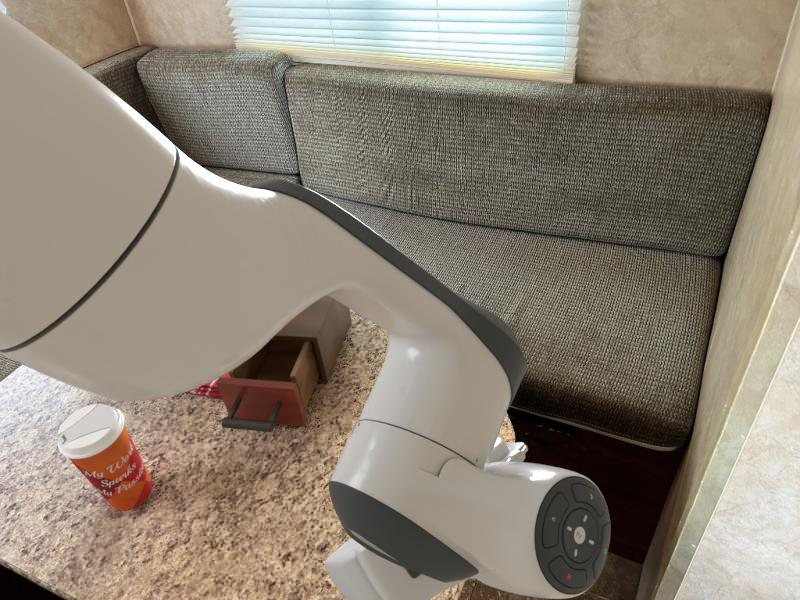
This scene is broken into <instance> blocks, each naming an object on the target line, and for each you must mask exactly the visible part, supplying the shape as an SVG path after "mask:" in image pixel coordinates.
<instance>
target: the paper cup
mask: <svg viewBox="0 0 800 600" xmlns="http://www.w3.org/2000/svg"><path fill="white" fill-rule="evenodd" d="M125 419H126V417H125V414H124V412H122V410H120V409H119V408H116V407H114V406H110V405H107V404H103V403H93V404H89V405H86V406H84V407H81V408H79V409H77V410H75V411H74V412H73V413H71V414H70V415H69V416H67V417H66V419H64V421H63V422H62V423H61V424H60V427H59V429H58V431H57V439H58V440H57V448H58V451H59V453H60V455H62V456H63V457H65V458H68V459H69V461H70V462H71V463H72V464H73V465H74V466H75V467H76V469H77V470H78V471H79V472H80V473H81V474H82V475H83V476H84V478H86V480H87V481H89V482H90V484H91V485H92V487H94V489H96V491H97V492H98V493H99V494H100V495H101V496H102V498H103V499H105V501H106V502H107V503H108V504H109V505H110V506H111V508H113V509H115V510H118V511H129V510H132V509H135V508H137V507H138V506H140V505H141V504H143V502H145V501H146V500H147V499H148V497H150V495H151V492H152V488H153V483H152V479H151V477H150V474H149V472H148V470H147V467H146V466H145V463H144V461H143V459H142V457H141V455H140V453H139V451H138V450H137V447H136V445H135V443H134V442H133V438H132V437H131V435H130V434H129V430H128V429H127V427H126V425H125Z"/></svg>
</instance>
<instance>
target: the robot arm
mask: <svg viewBox="0 0 800 600" xmlns="http://www.w3.org/2000/svg"><path fill="white" fill-rule="evenodd" d="M325 295H328V296H330V297H331V298H333V299H335V300H336V301H338V302H340V303H341V304H343V305H345V306H346V307H348V308H349V310H352V312H355V313H356V314H358V315H360V316H361V317H363V318H365V319H366V320H368V321H369V322H371V323H373V324H375V325H377V326H378V327H380V328H382V329H383V330H385V332H386V336H387V345H386V353H385V357H384V360H383V364H382V366H381V369H380V371H379V373H378V375H377V376H376V377H377V378H376V379H375V381H374V384H373V387H372V388H371V391H370V393H369V395H368V397H367V400H366V402H365V404H364V405H363V409H362V410H361V413H360V414H359V418H358V420H357V421H355V423H354V425H353V428H352V430H351V432H350V434H349V436H348V439H347V441H346V442H345V444H344V446H343V450H342V451H341V454H340V456H339V459H338V461H337V462H336V465H335V467H334V470H333V473H332V475H331V477H330V480H329V482H328V492H329V497H330V500H331V503H332V506H333V509H334V511H335V513H336V516H337V518H338V520H339V522H340V524H341V526H342V528H343V530H344V532H345V533H346V534H347V535H348V537H350V538H349V539H348V540H347V541H345V542H344V543H343V544H342V545H341V546H340V547H338V548H337V549H336V550H334V551H333V552H332V553H331V554H329V556H328V557H327V558H326V560H325V562H324V565H323V567H324V569H325V572H326V573H327V575H328V576H329V578H330V580H331V581H332V583H333V584H334V586H335V588H336V589H337V591H338V592H339V593H340V594H341V596H342V597H344V598H345V599H346V600H431V599H433V598H434V597H436V596H438V595H440V594H441V593H443V592H445V591H447V590H449V589H450V588H453V587H456V586H457V585H459V584H462V583H464V582H466V581H468V580H477V581H478V582H480V583H482V584H483V585H486V586H487V587H491V588H494V589H497V590H500V591H503V592H506V593H511V594H516V595H520V596H524V597H532V598H537V599H538V598H539V599H549V600H550V599H551V600H553V599H554V600H564V599H571V598H575V597H579V596H580V595H582V594H584V593H585V592H587V591H588V590H590V588H592V587H593V586H594V584H596V582H597V581H598V580H599V578H600V576H601V574H602V571H603V568H604V566H605V563H606V560H607V556H608V552H609V547H610V542H611V532H612V531H611V530H612V529H611V528H612V526H611V524H612V523H611V517H610V512H609V508H608V504H607V502H606V500H605V497H604V495H603V494H602V492H601V490H600V489H599V487H598V486H597V484H595V482H593V481H592V480H591V479H590V478H589V477H587V476H585V475H583V474H581V473H579V472H576V471H573V470H570V469H566V468H564V467H563V468H562V467H557V466H553V465H547V464H542V463H534V462H525V459H526V453H527V452H528V451H529V448H528V445H527V444H526V443H524V442H523V441H516V442H510V443H508V444H507V443H506V442H505V440H504V439H503V438H502V437H500V436H499V434H500V431H501V428H502V426H503V424H504V423H503V422H504V420H505V417H506V414H507V411H508V410H509V409H510V407H511V405H512V403H513V401H514V399H515V396H516V395H517V392H518V390H519V388H520V385H521V383H522V381H523V378H524V376H525V374H526V372H527V368H528V367H527V366H528V365H527V364H528V363H527V360H526V357H525V354H524V351H523V349H522V346H521V344H520V342H519V339H518V338H517V337H516V334H515V333H514V331H513V330H512V328H511V327H510V326H509V324H508V323H507V322H506V321H505V320H504V319H502V318H501V317H499V316H498V315H496V314H495V313H494V312H492V311H490V310H488V309H487V308H485V307H483V306H482V305H479V304H478V303H475V302H473V301H472V300H469V299H468V298H465V297H463V296H462V295H460V294H458V293H457V292H455V291H454V290H452V289H451V288H449V287H448V286H447V285H446V284H445V283H443V282H442V281H440V280H439V279H438V278H437V277H435V275H433V274H431V273H430V272H429V271H428V270H426V269H425V268H423V267H422V266H421V265H419V264H418V263H417V262H416V261H414V260H413V259H412V258H410V257H409V256H408V255H407V254H405V253H404V252H402V250H400V249H399V248H397V246H395V245H393V244H392V243H391V242H389V241H388V240H387V239H386V238H384V237H383V236H382V235H381V234H379V233H378V232H376V231H375V230H373V229H372V228H371V227H370V226H368V225H367V224H366V223H364V222H363V221H361V220H360V219H358V218H357V217H356V216H355V215H353V214H351V213H350V212H349V211H347V210H345V209H344V208H342V207H341V206H340V205H338V204H336V203H335V202H333V201H332V200H330V199H328V198H327V197H325V196H323V195H321V194H320V193H318V192H316V191H314V190H312V189H310V188H308V187H305V186H304V185H301V184H298V183H296V182H292V181H290V180H289V181H288V180H285V179H279V178H264V179H260V180H257V181H255V182H252V183H250V184H248V185H246V186H245V185H241V184H238V183H235V182H232V181H229V180H227V179H224V178H222V177H220V176H218V175H216V174H214V173H213V172H211V171H209V170H207V169H206V168H204V167H202V166H201V165H200V164H198V163H197V162H195V161H194V160H193V159H192V158H190V157H188V156H187V155H186V154H185V153H184V152H183V151H182V150H180V149H179V148H178V147H177V146H176V145H175V144H173V142H172V141H170V139H168V137H166V136H165V135H164V134H163V133H161V131H159V130H158V128H156V127H155V126H154V125H152V124H151V123H150V122H149V121H148V120H147V119H146V118H145V117H144V116H143V115H141V114H140V113H139V112H138V111H137V110H135V109H134V108H133V107H132V106H130V105H129V104H128V103H127V102H126V101H124V100H123V99H122V98H121V97H120V96H119V95H117V94H116V93H115V92H114V91H113V90H111V88H109V87H108V86H106V85H105V84H104V83H102V82H101V81H100V80H98V79H97V78H96V77H95V76H93V75H92V74H90V73H89V72H88V71H86V70H85V68H83V67H81V66H80V65H79V64H78V63H76V62H75V61H74V60H72V59H71V58H69V57H68V56H67V55H65V54H64V53H62V52H61V51H60V50H58V49H57V48H56V47H54V46H53V45H51V44H50V43H48V41H45V40H44V39H43V38H41V37H39V35H37V34H36V33H34V32H33V31H31V30H30V29H28V28H27V27H25V26H24V25H23V24H22V23H20V22H19V21H17V20H15V19H14V18H13V17H11V16H9V15H8V14H6V13H4V12H3V11H1V10H0V354H1V355H3V356H5V357H6V358H9V359H10V360H13V361H15V362H16V363H18V364H21V365H22V366H25V367H27V368H29V369H31V370H33V371H35V372H37V373H39V374H42V375H43V376H46V377H48V378H51V379H54V380H56V381H58V382H61V383H63V384H65V385H68V386H70V387H73V388H76V389H79V390H81V391H83V392H86V393H90V394H92V395H95V396H98V397H102V398H105V399H108V400H112V401H118V402H143V401H144V402H145V401H152V400H160V399H165V398H170V397H173V396H177V395H182V394H183V393H188V392H187V391H190V390H193V389H195V388H198V387H200V386H202V385H205V384H207V383H209V382H211V381H214V380H216V379H218V378H219V377H221V376H223V375H225V374H227V373H228V372H230V371H232V370H233V369H235V368H236V367H238V366H239V365H241V364H242V363H244V362H245V361H247V360H248V359H249V358H251V357H252V356H253V355H254V354H256V353H257V352H258V351H259V350H260V349H262V348H263V347H264V346H265V345H266V344H267V343H268V342H269V341H270V340H271V339H272V338H273V337H274V336H275V335H276V334H277V333H278V332H279V331H280V330H281V329H282V328H283V327H284V326H285V325H287V324H288V323H289V322H290V321H291V320H292V319H294V318H295V317H296V316H297V315H298V314H299V313H301V312H302V311H303V310H305V309H306V308H307V307H309V306H310V305H311V304H313V303H314V302H316V301H317V300H319V299H320V298H322V297H324V296H325Z"/></svg>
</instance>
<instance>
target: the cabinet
mask: <svg viewBox="0 0 800 600" xmlns="http://www.w3.org/2000/svg"><path fill="white" fill-rule="evenodd" d="M350 310H351V309H350V308H348V307H346V306H345V305H343V304H341V303H340V302H338V301H336V300H335V299H333V298H331V297H330V296H328V295H325V296H324V297H322V298H320V299H319V300H317V301H316V302H314V303H313V304H311V305H310V306H309V307H307V308H306V309H305V310H303V311H302V312H301V313H299V314H298V315H297V316H296V317H295V318H294V319H292V320H291V321H290V322H289V323H288V324H287V325H285V326H284V327H283V328H282V329H281V330H280V331H279V332H278V333H277V334H276V335H275V336H274V337H273V338H272V339H286V340H302V341H313V344H314V348H315V352H316V356H317V360H318V364H319V367H320V371H321V373H320V375H319V378H318V380H317V383H323V384H329V382H330V379H331V377H332V374H333V371H334V368H335V365H336V363H337V361H338V358H339V356H340V352H341V350H342V347H343V345H344V342H345V339H346V336H347V334H348V331H349V327H350V325H351V323H352V316H351V311H350Z"/></svg>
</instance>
